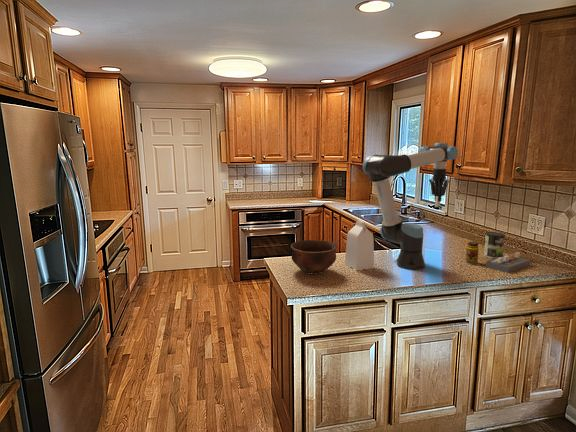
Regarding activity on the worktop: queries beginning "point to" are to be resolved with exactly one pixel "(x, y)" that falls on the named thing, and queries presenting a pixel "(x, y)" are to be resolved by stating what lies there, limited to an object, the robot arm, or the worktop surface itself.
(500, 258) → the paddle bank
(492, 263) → the switch panel
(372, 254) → the milk
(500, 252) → the coffee can
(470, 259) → the condiment
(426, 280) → the worktop surface
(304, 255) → the bowl
